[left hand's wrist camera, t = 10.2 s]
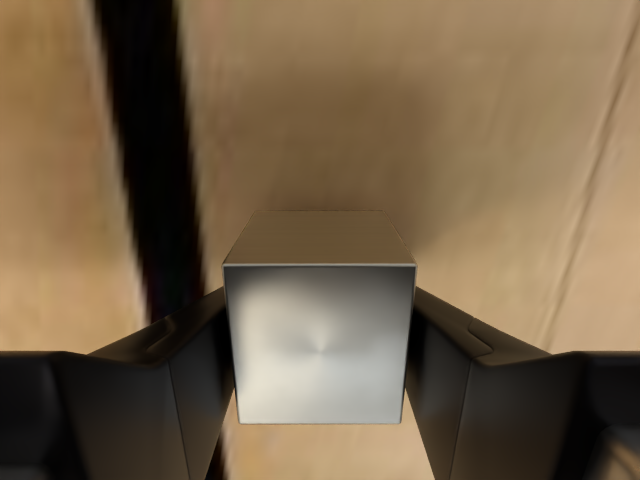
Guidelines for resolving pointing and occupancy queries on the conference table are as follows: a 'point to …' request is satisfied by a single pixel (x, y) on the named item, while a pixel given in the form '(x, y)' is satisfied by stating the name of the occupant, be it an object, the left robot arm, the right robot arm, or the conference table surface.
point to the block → (319, 317)
